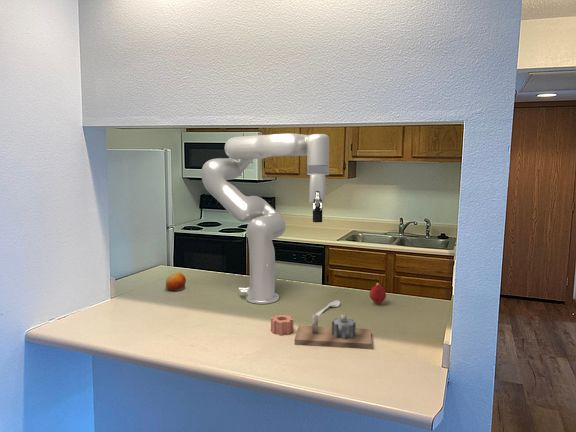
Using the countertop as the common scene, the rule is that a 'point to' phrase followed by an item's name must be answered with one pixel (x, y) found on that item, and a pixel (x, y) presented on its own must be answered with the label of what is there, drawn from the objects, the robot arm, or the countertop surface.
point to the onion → (377, 294)
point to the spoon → (328, 306)
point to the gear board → (334, 334)
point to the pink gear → (281, 324)
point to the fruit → (176, 282)
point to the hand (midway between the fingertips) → (317, 220)
